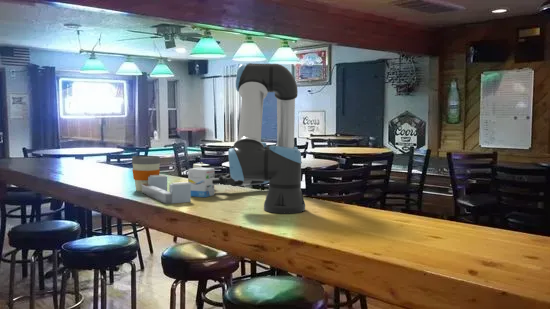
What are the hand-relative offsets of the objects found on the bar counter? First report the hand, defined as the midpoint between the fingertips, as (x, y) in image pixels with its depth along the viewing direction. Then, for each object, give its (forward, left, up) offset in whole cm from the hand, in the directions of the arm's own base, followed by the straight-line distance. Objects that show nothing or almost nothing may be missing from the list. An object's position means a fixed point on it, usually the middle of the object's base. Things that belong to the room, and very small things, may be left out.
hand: (197, 180), depth 215 cm
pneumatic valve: (+22, -12, -7) cm, 26 cm away
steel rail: (+2, +17, -7) cm, 19 cm away
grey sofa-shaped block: (+2, +12, -6) cm, 14 cm away
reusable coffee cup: (+25, +14, -7) cm, 29 cm away
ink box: (0, -2, -7) cm, 7 cm away
